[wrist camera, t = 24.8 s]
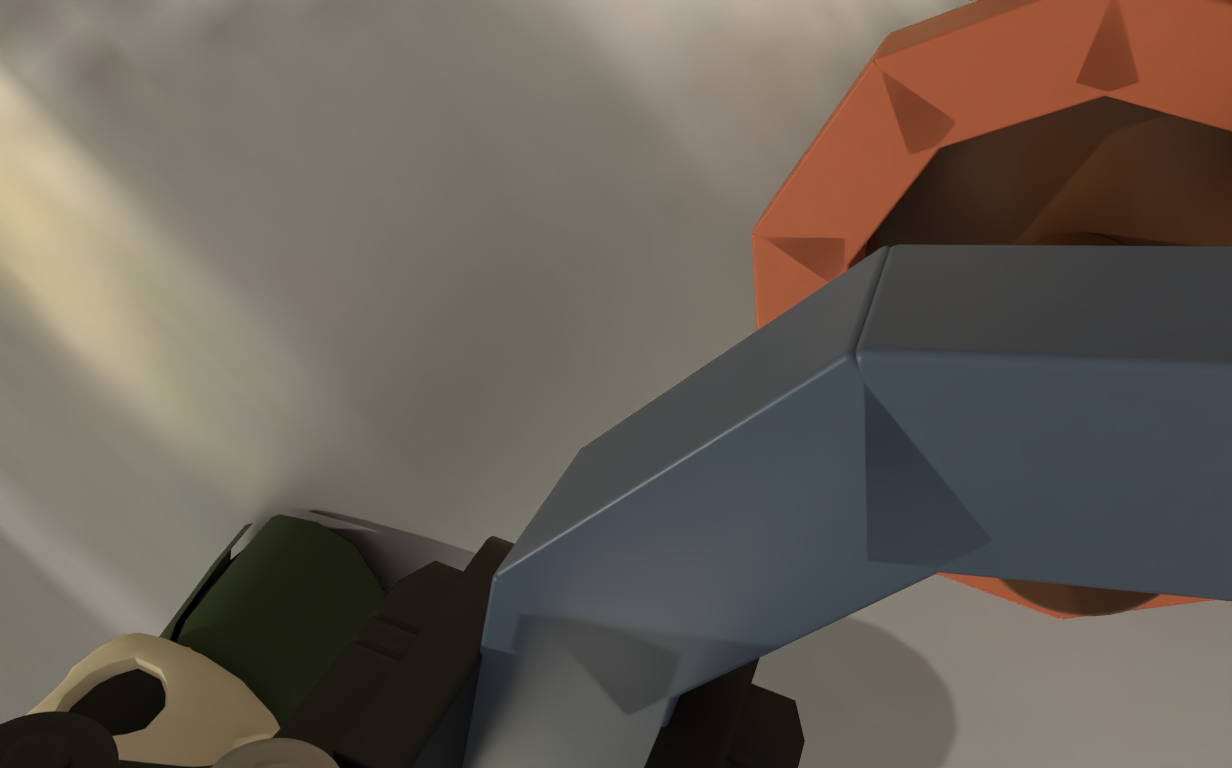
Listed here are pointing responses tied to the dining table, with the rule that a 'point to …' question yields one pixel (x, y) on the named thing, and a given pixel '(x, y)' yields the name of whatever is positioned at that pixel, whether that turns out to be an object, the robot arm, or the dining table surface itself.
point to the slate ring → (870, 480)
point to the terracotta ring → (978, 124)
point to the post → (1074, 215)
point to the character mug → (228, 649)
